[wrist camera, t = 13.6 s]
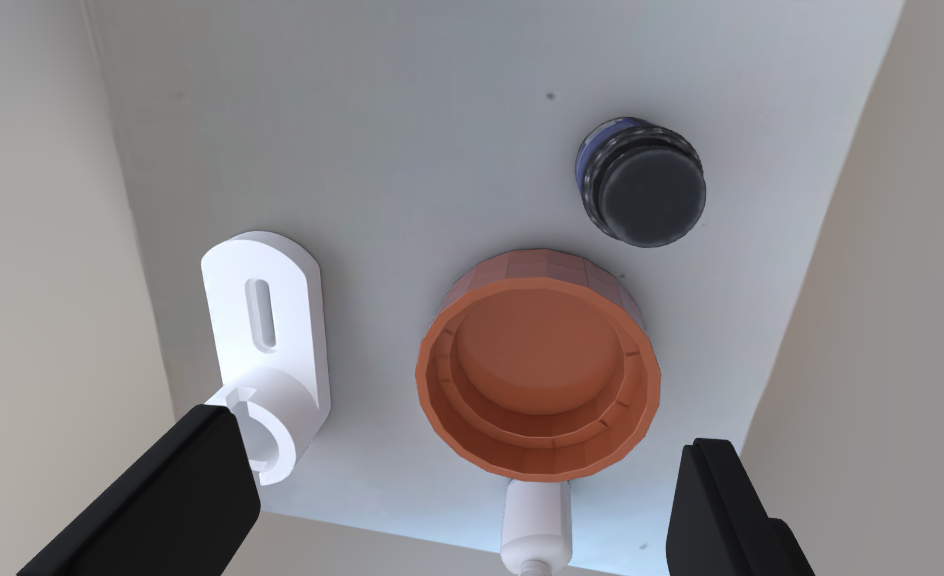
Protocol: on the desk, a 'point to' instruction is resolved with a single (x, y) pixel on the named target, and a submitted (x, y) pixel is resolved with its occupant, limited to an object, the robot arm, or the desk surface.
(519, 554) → the eye dropper bottle
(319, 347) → the bracket
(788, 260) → the desk surface
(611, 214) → the pill bottle
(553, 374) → the bowl
